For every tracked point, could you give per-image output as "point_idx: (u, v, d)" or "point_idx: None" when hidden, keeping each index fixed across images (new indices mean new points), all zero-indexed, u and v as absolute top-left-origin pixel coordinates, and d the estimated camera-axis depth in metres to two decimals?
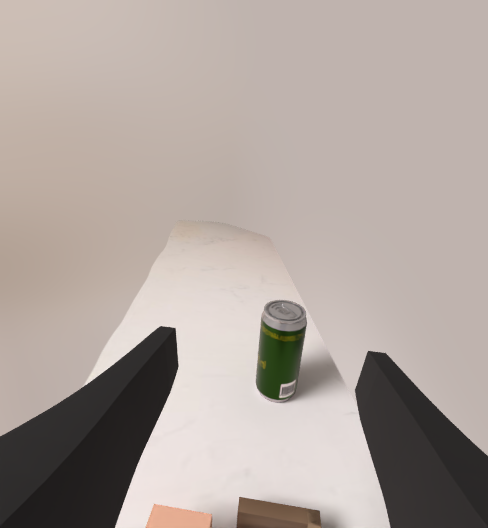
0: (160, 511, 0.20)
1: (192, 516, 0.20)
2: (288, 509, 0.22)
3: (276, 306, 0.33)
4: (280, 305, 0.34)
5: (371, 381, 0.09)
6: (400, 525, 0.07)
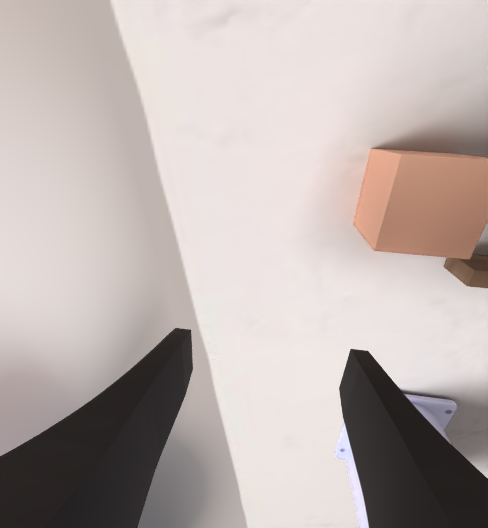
0: (414, 164, 0.12)
1: (474, 166, 0.11)
2: None
3: None
4: None
5: (353, 379, 0.09)
6: (376, 521, 0.07)
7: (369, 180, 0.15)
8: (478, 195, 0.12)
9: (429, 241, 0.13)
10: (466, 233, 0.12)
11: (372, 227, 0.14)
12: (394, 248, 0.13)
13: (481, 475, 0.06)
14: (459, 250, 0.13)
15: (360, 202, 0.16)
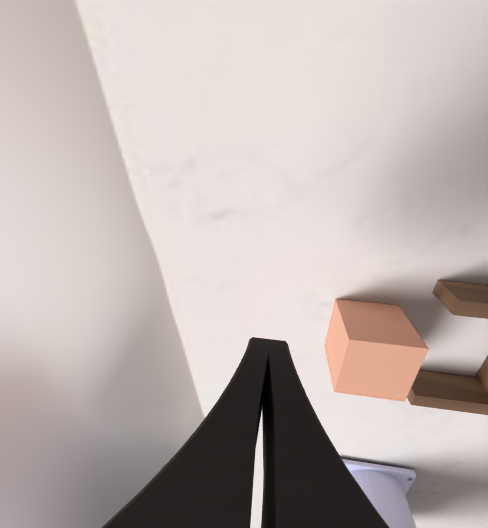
0: (359, 345, 0.16)
1: (401, 349, 0.16)
2: None
3: None
4: None
5: None
6: (263, 502, 0.07)
7: (333, 326, 0.19)
8: (406, 365, 0.16)
9: (374, 389, 0.17)
10: (400, 386, 0.17)
11: (333, 369, 0.18)
12: (349, 391, 0.18)
13: (334, 453, 0.06)
14: (396, 395, 0.17)
15: (328, 334, 0.21)
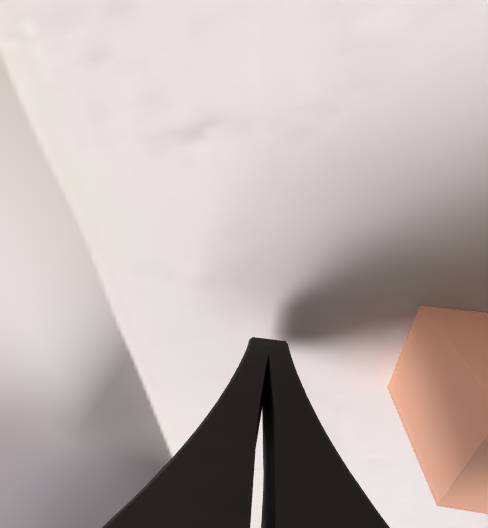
0: None
1: None
2: None
3: None
4: None
5: None
6: (263, 502, 0.07)
7: (420, 358, 0.10)
8: None
9: None
10: None
11: (429, 452, 0.09)
12: (471, 506, 0.08)
13: (334, 453, 0.06)
14: None
15: (400, 370, 0.11)
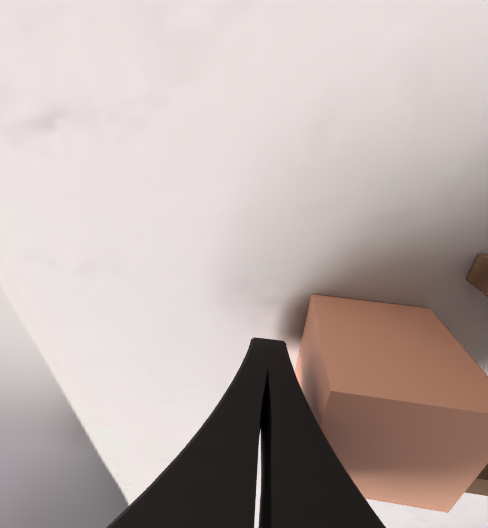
0: (354, 404, 0.07)
1: (454, 418, 0.07)
2: None
3: None
4: None
5: None
6: (261, 501, 0.07)
7: (307, 346, 0.10)
8: (461, 449, 0.07)
9: (384, 488, 0.08)
10: (442, 486, 0.08)
11: None
12: None
13: (331, 452, 0.06)
14: (431, 502, 0.08)
15: (300, 359, 0.11)
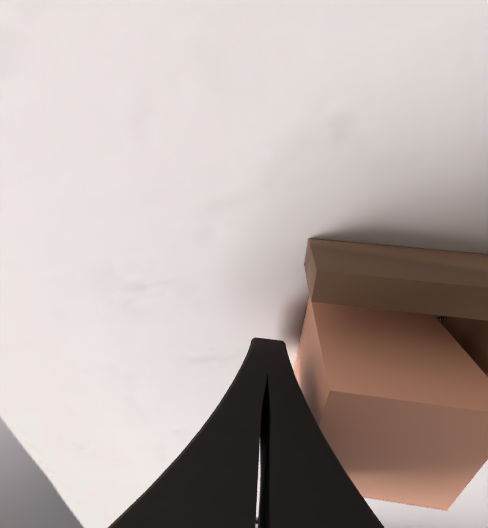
0: (353, 404, 0.07)
1: (452, 416, 0.07)
2: (470, 294, 0.07)
3: None
4: None
5: None
6: (260, 501, 0.07)
7: (306, 346, 0.10)
8: (459, 448, 0.07)
9: (383, 486, 0.08)
10: (440, 485, 0.08)
11: None
12: None
13: (329, 452, 0.06)
14: (430, 500, 0.08)
15: (298, 359, 0.11)
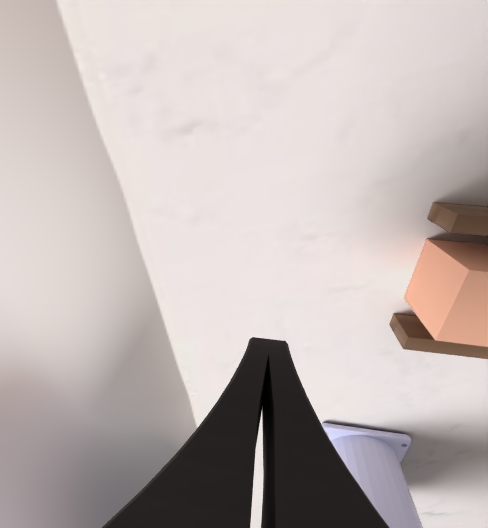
0: (480, 278, 0.13)
1: None
2: None
3: None
4: None
5: None
6: (263, 502, 0.07)
7: (425, 269, 0.17)
8: None
9: (485, 335, 0.15)
10: None
11: (431, 316, 0.16)
12: (453, 339, 0.15)
13: (334, 453, 0.06)
14: None
15: (413, 282, 0.18)
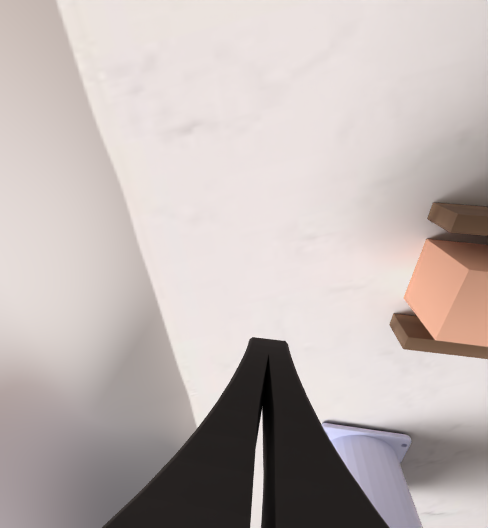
0: (479, 278, 0.13)
1: None
2: None
3: None
4: None
5: None
6: (263, 502, 0.07)
7: (425, 269, 0.17)
8: None
9: (485, 335, 0.15)
10: None
11: (431, 316, 0.16)
12: (453, 339, 0.15)
13: (334, 453, 0.06)
14: None
15: (413, 282, 0.18)
